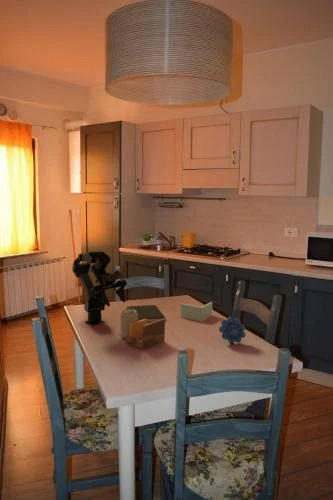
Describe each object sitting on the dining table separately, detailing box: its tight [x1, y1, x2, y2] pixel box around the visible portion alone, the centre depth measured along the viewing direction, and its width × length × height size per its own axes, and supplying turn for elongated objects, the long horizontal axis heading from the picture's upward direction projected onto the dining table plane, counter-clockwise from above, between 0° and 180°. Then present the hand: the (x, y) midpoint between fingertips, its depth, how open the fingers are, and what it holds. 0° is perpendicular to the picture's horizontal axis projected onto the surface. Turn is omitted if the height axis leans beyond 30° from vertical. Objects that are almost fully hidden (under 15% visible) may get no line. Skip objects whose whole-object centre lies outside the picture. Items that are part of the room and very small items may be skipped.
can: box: [120, 308, 138, 340], centre depth 180 cm, size 8×8×12 cm
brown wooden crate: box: [124, 318, 166, 351], centre depth 174 cm, size 11×12×10 cm
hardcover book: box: [126, 304, 166, 323], centre depth 212 cm, size 16×23×2 cm
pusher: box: [130, 319, 148, 340], centre depth 176 cm, size 1×9×8 cm, turn 139°
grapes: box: [218, 316, 246, 344], centre depth 173 cm, size 12×7×12 cm, turn 96°
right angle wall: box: [180, 301, 213, 322], centre depth 212 cm, size 12×12×8 cm
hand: (117, 303), depth 184 cm, fingers open, 9 cm apart
